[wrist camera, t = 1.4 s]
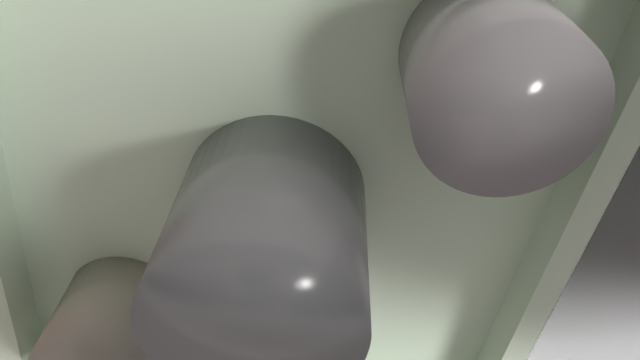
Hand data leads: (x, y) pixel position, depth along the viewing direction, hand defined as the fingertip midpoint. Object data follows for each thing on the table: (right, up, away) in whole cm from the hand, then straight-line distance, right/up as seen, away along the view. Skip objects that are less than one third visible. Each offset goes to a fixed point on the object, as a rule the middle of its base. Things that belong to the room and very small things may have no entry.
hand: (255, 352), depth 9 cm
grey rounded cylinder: (0, +2, +4) cm, 4 cm away
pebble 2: (+4, +5, +2) cm, 7 cm away
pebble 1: (-4, 0, +6) cm, 7 cm away
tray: (0, +3, +4) cm, 5 cm away
